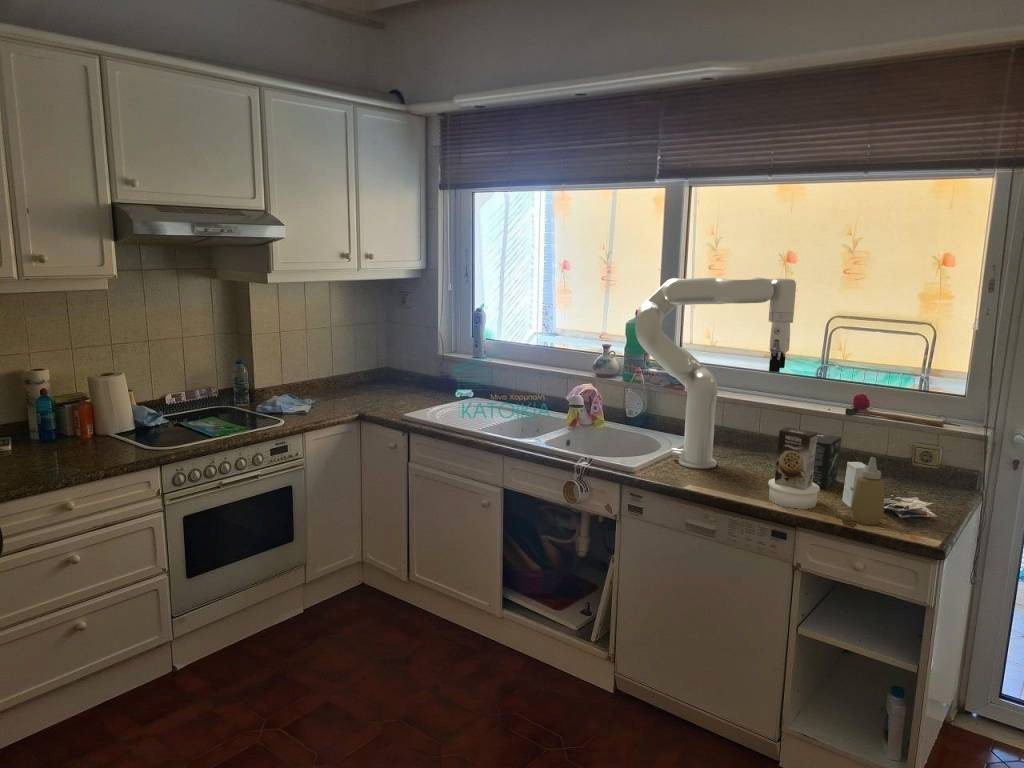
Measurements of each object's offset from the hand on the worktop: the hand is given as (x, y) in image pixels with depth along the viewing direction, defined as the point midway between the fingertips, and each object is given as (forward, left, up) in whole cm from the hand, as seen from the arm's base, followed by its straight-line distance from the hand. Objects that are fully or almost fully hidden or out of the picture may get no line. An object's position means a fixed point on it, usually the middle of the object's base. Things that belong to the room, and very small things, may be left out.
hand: (776, 369), depth 244 cm
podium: (+12, -31, -33) cm, 47 cm away
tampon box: (+16, -8, -34) cm, 38 cm away
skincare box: (+28, -25, -34) cm, 50 cm away
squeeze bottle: (+32, -38, -34) cm, 60 cm away
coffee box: (+12, -31, -28) cm, 44 cm away
